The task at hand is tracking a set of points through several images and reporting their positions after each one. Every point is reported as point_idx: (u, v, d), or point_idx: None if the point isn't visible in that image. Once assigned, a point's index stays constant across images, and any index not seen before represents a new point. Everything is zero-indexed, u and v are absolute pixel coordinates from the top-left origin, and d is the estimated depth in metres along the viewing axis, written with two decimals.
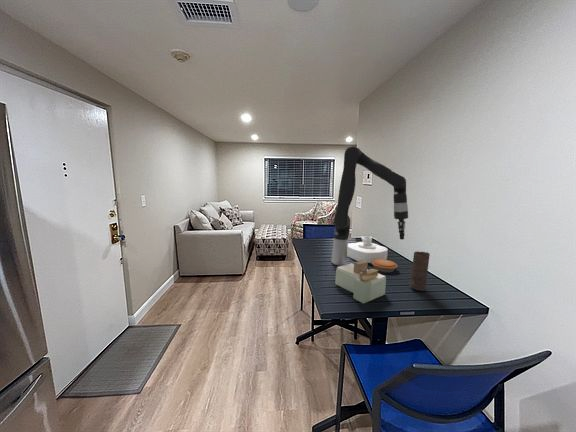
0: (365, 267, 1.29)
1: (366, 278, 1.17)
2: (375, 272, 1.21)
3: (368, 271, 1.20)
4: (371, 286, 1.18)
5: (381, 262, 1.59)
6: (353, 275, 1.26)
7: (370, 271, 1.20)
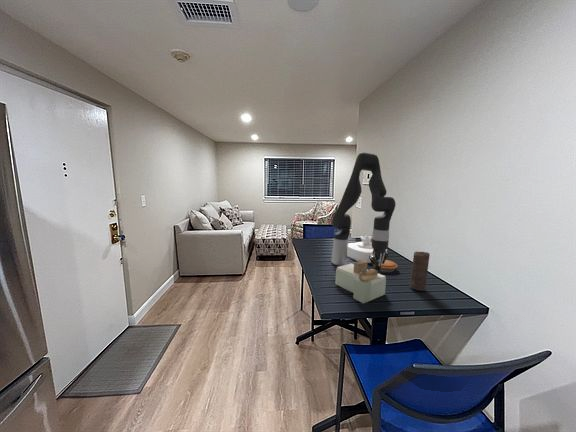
0: (365, 267, 1.29)
1: (366, 278, 1.17)
2: (375, 272, 1.21)
3: (368, 271, 1.20)
4: (371, 286, 1.18)
5: None
6: (353, 275, 1.26)
7: (370, 271, 1.20)
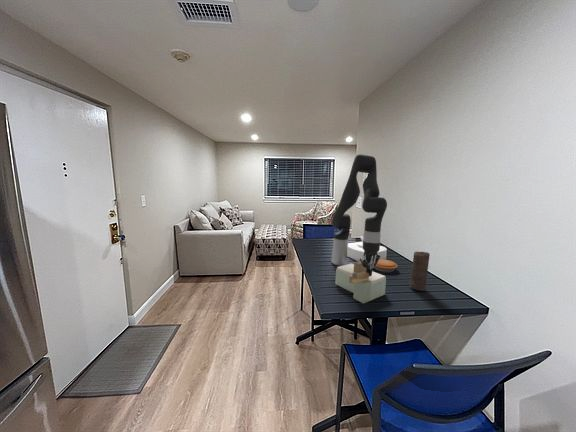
0: None
1: (356, 281, 1.13)
2: (366, 275, 1.17)
3: (358, 274, 1.16)
4: (371, 286, 1.18)
5: (381, 262, 1.59)
6: None
7: (360, 274, 1.16)
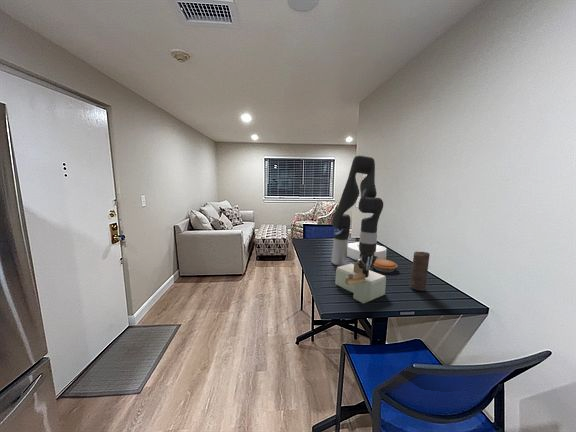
0: None
1: (352, 283, 1.12)
2: (362, 276, 1.15)
3: (355, 275, 1.15)
4: (371, 286, 1.18)
5: (381, 262, 1.59)
6: None
7: (357, 275, 1.15)
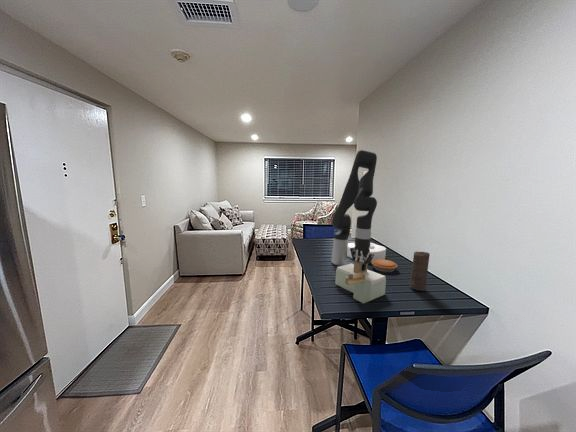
0: None
1: (352, 283, 1.12)
2: (362, 276, 1.15)
3: (355, 275, 1.15)
4: (371, 286, 1.18)
5: (381, 262, 1.59)
6: None
7: (357, 275, 1.15)
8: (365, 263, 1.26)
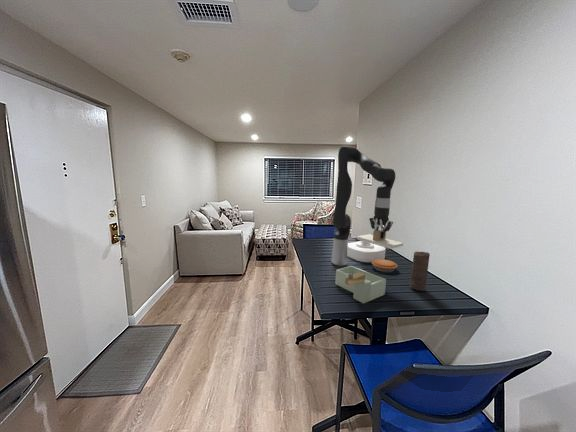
0: None
1: (352, 283, 1.12)
2: (362, 276, 1.15)
3: (355, 275, 1.15)
4: (371, 286, 1.18)
5: (381, 262, 1.59)
6: (372, 242, 1.35)
7: (357, 275, 1.15)
8: (384, 231, 1.34)
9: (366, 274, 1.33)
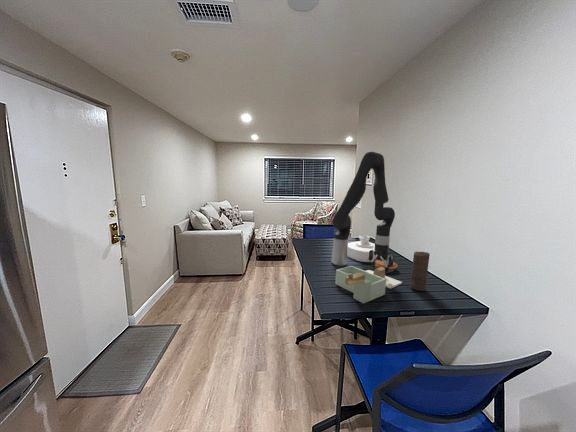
0: (383, 274, 1.44)
1: (352, 283, 1.12)
2: (362, 276, 1.15)
3: (355, 275, 1.15)
4: (371, 286, 1.18)
5: (381, 262, 1.59)
6: None
7: (357, 275, 1.15)
8: (388, 266, 1.38)
9: (366, 274, 1.33)
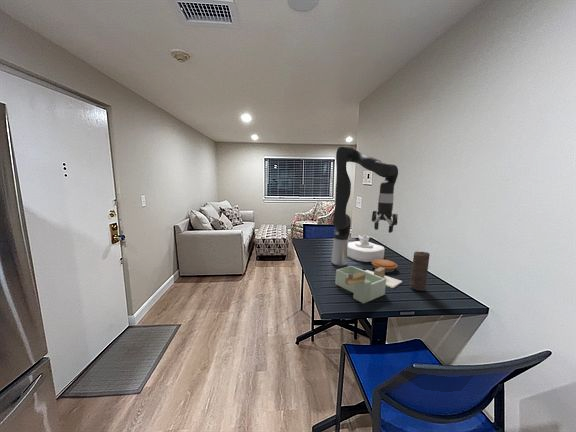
0: (383, 273, 1.44)
1: (352, 283, 1.12)
2: (362, 276, 1.15)
3: (355, 275, 1.15)
4: (371, 286, 1.18)
5: (381, 262, 1.59)
6: None
7: (357, 275, 1.15)
8: (392, 225, 1.34)
9: (366, 274, 1.33)
